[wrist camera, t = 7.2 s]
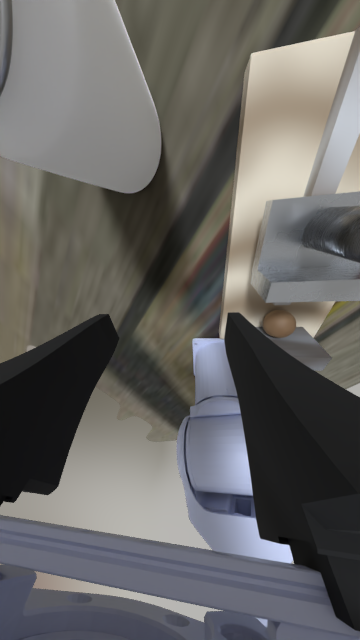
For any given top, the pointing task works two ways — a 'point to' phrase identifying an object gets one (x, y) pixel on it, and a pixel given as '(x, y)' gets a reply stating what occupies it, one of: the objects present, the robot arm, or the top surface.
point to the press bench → (291, 170)
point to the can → (75, 94)
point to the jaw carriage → (309, 249)
